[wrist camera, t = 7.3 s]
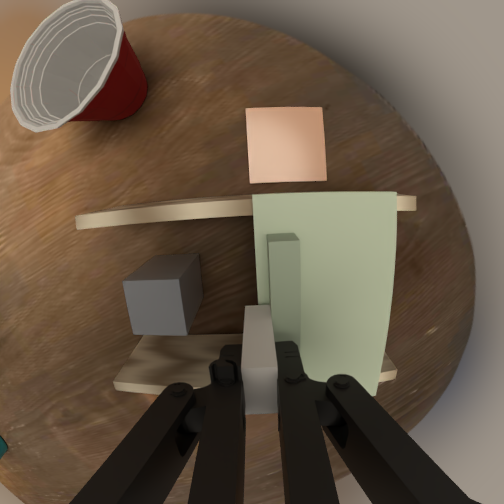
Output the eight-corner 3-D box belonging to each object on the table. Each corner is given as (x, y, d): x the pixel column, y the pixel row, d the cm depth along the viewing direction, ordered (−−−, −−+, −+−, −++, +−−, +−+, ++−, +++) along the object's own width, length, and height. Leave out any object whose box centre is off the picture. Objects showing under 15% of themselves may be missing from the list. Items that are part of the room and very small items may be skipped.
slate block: (161, 298, 29) (133, 334, 21) (154, 255, 28) (122, 280, 20) (203, 297, 29) (187, 335, 21) (198, 253, 28) (178, 279, 20)
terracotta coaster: (250, 183, 27) (249, 183, 26) (245, 110, 25) (245, 108, 24) (325, 180, 26) (326, 180, 26) (320, 108, 25) (321, 107, 24)
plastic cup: (66, 92, 24) (-5, 65, 12) (144, 32, 23) (97, -26, 11) (101, 166, 26) (22, 163, 14) (189, 104, 25) (147, 56, 13)
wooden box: (146, 341, 30) (116, 390, 22) (124, 205, 27) (75, 216, 18) (363, 331, 30) (395, 378, 21) (369, 191, 27) (416, 196, 18)
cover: (263, 400, 21) (264, 430, 18) (252, 194, 18) (251, 196, 14) (371, 388, 21) (385, 414, 18) (390, 191, 18) (415, 194, 14)
